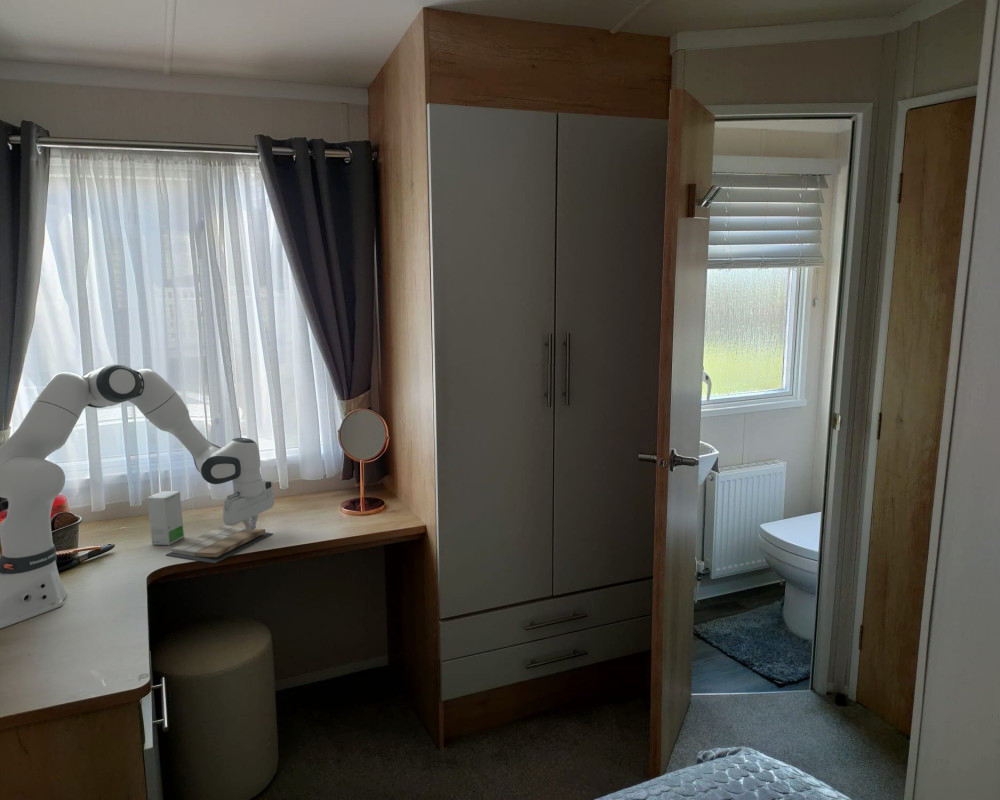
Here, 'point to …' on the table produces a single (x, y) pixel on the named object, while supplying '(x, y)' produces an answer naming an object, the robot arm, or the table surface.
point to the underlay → (223, 556)
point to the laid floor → (205, 540)
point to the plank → (229, 543)
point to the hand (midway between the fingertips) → (251, 529)
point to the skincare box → (165, 517)
